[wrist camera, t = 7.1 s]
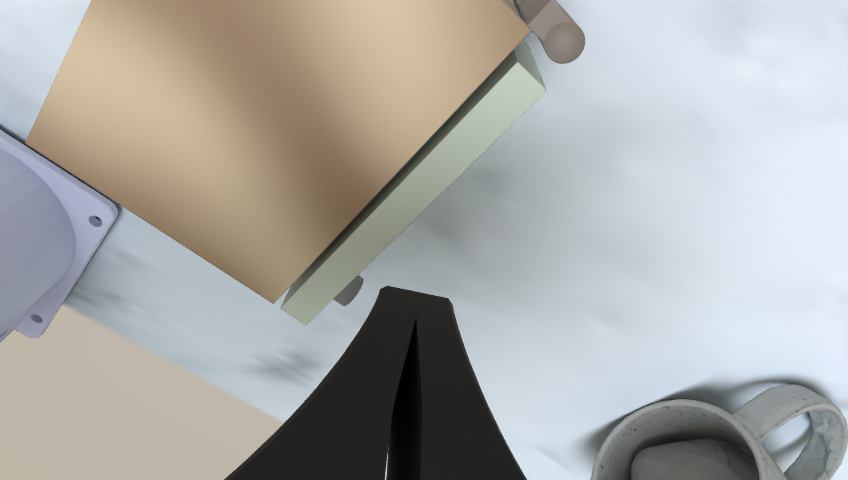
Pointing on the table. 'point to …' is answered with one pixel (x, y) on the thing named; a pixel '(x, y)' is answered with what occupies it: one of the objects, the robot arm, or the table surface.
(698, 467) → the ceramic mug
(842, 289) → the table surface
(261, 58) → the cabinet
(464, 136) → the door
